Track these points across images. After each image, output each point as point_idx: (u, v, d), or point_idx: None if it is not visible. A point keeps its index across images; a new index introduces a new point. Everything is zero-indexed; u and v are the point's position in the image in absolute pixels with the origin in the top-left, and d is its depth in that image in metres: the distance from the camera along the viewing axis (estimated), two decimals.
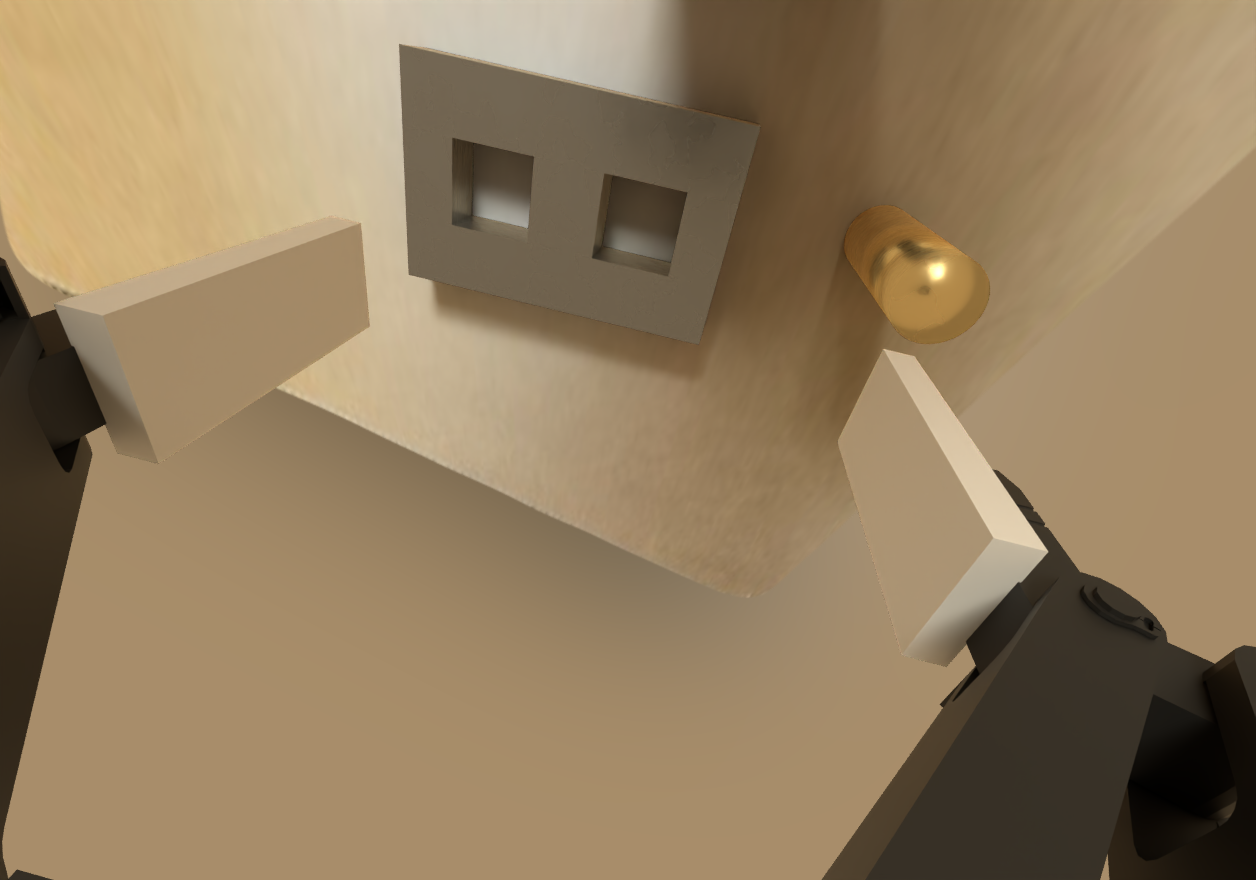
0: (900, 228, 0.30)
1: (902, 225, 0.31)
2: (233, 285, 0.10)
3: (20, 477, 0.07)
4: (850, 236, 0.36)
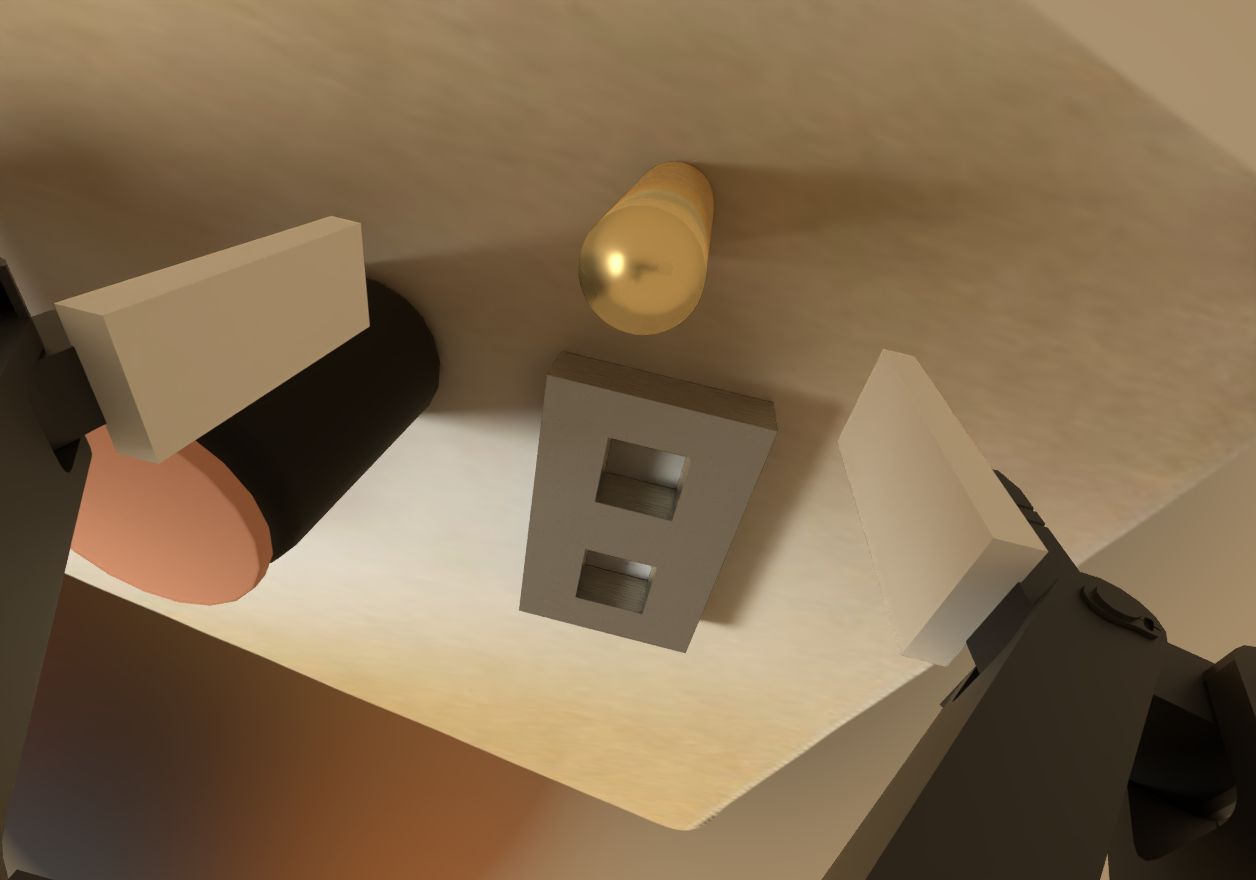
0: None
1: None
2: (233, 285, 0.10)
3: (20, 477, 0.07)
4: None
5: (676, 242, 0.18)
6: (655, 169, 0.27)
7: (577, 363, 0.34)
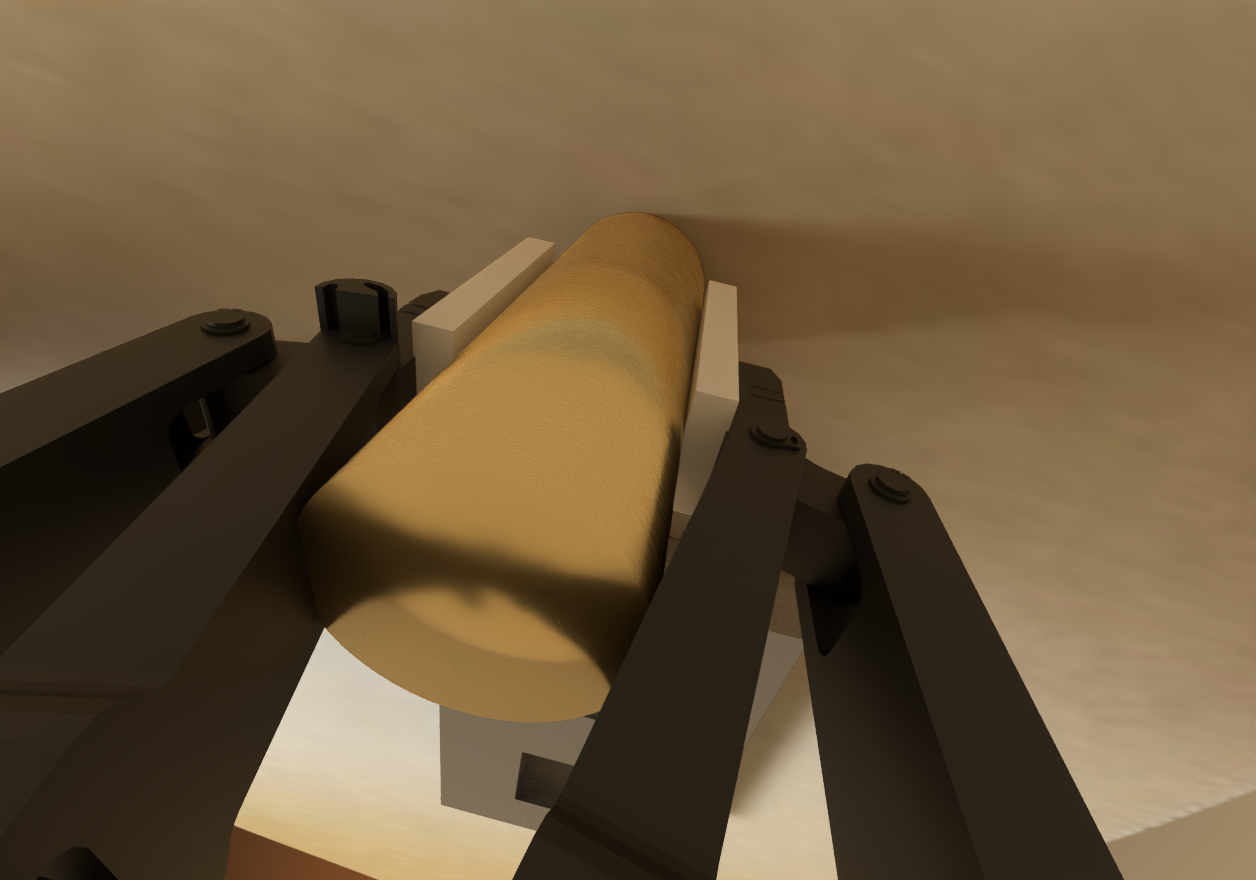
0: None
1: None
2: (500, 302, 0.12)
3: None
4: None
5: (558, 559, 0.06)
6: (592, 233, 0.14)
7: None
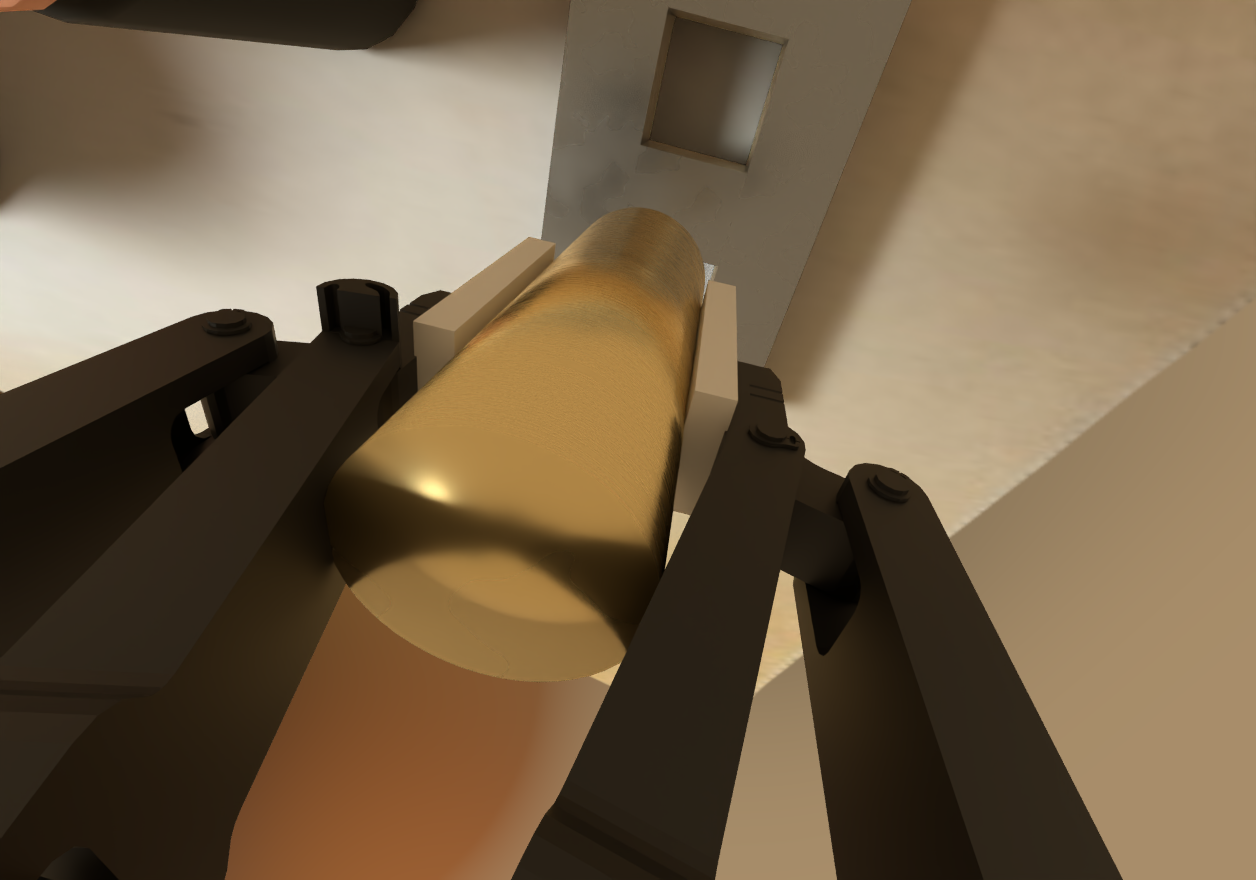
0: None
1: None
2: (501, 302, 0.12)
3: None
4: None
5: (572, 519, 0.06)
6: (597, 227, 0.15)
7: None
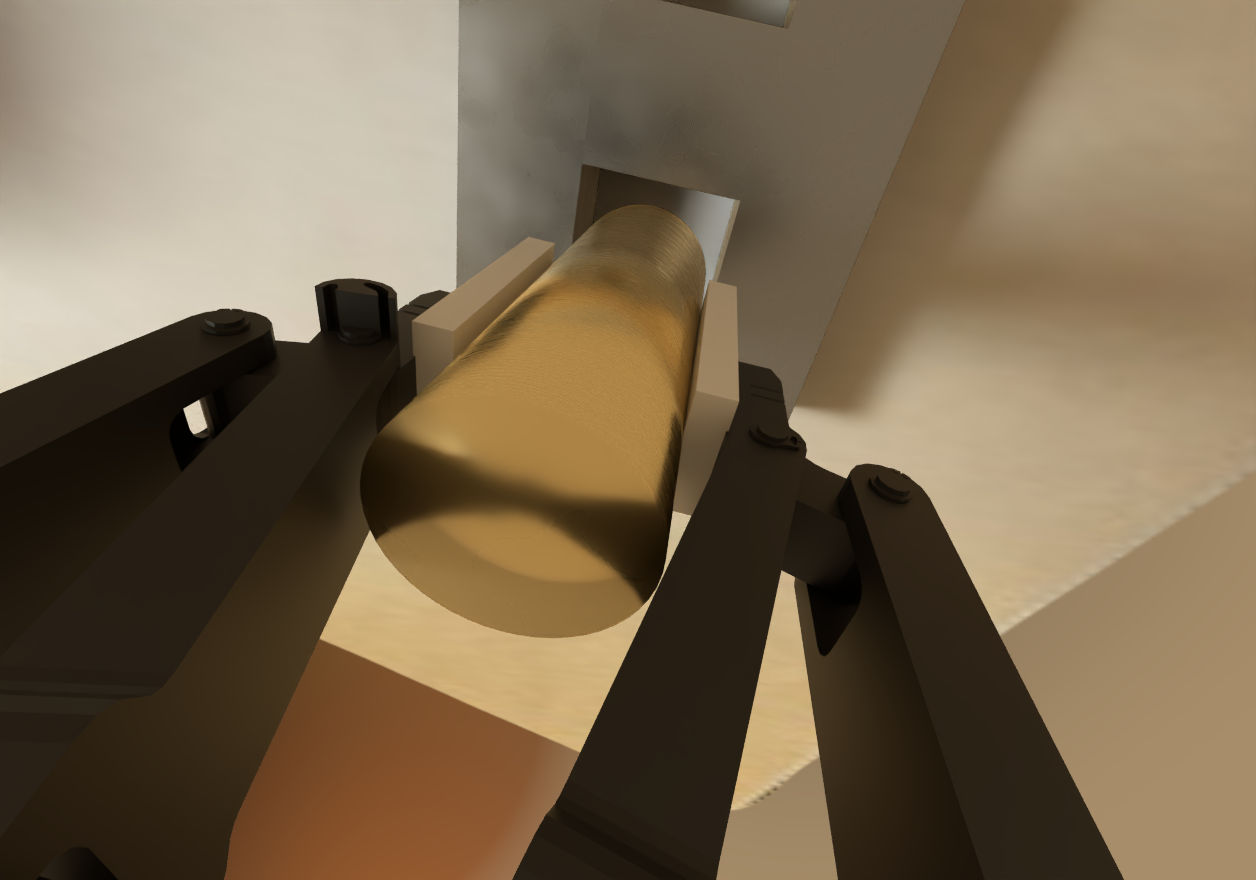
0: None
1: None
2: (500, 302, 0.12)
3: (350, 479, 0.08)
4: None
5: (587, 480, 0.07)
6: (602, 223, 0.15)
7: None
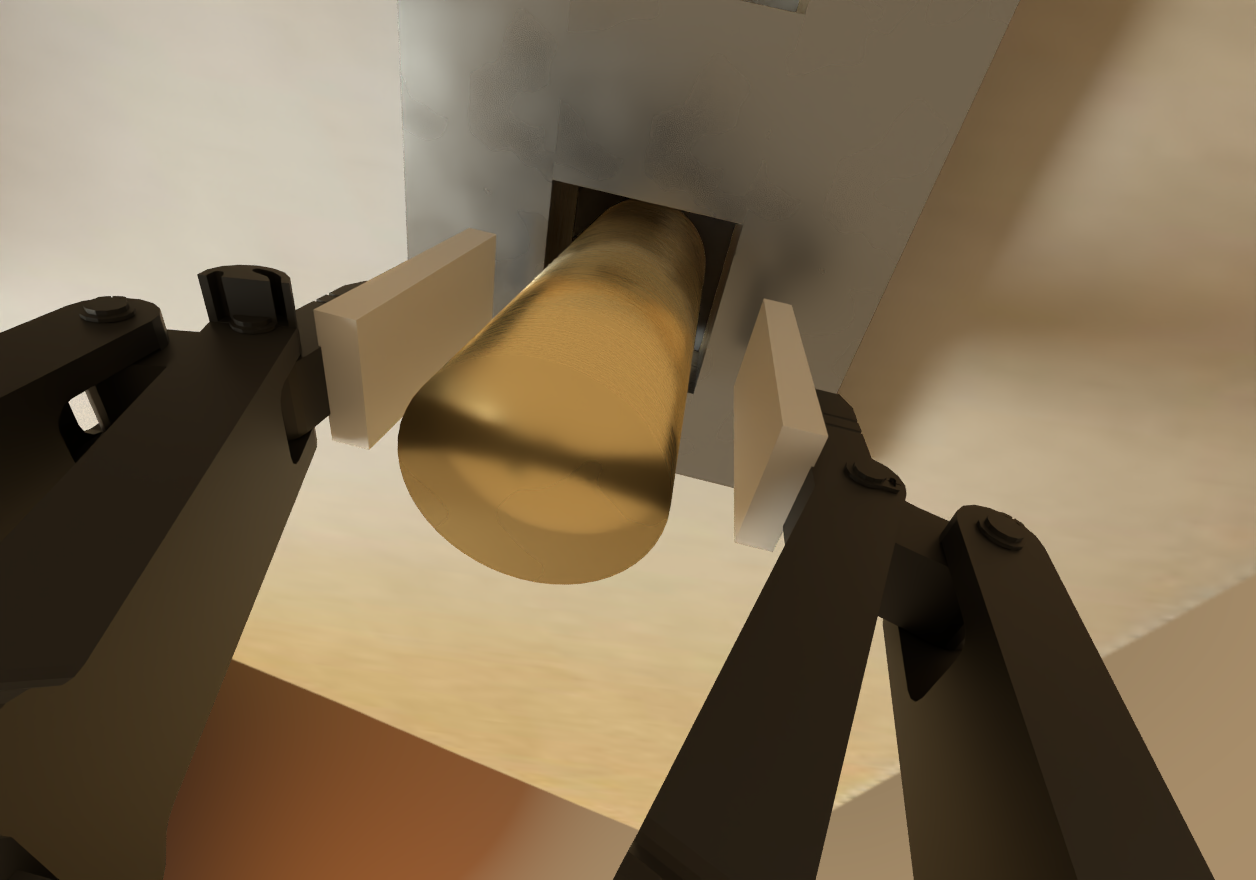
0: None
1: None
2: (423, 292, 0.11)
3: (258, 469, 0.07)
4: None
5: (602, 432, 0.08)
6: (608, 214, 0.16)
7: None
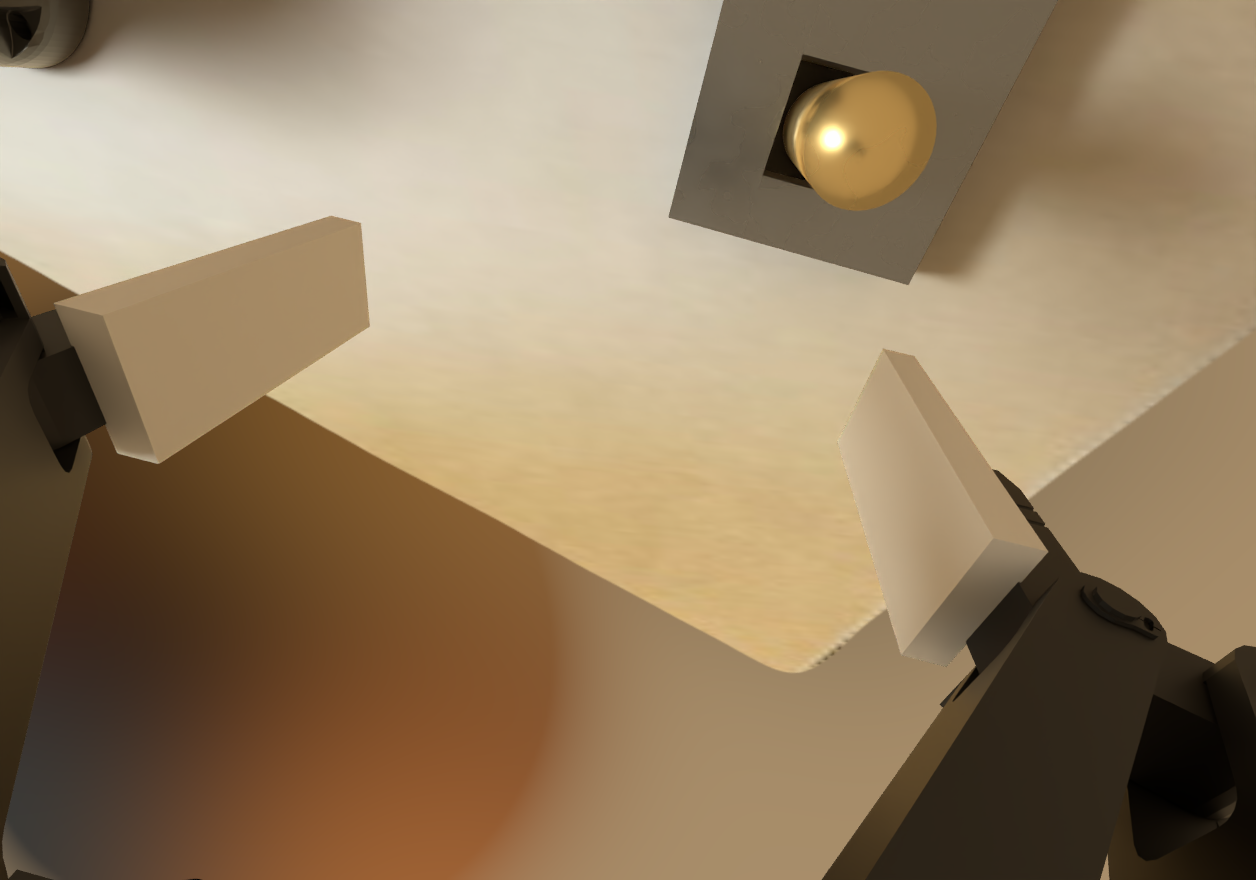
0: (792, 151, 0.25)
1: (790, 145, 0.26)
2: (233, 285, 0.10)
3: (20, 477, 0.07)
4: None
5: (912, 110, 0.19)
6: None
7: None
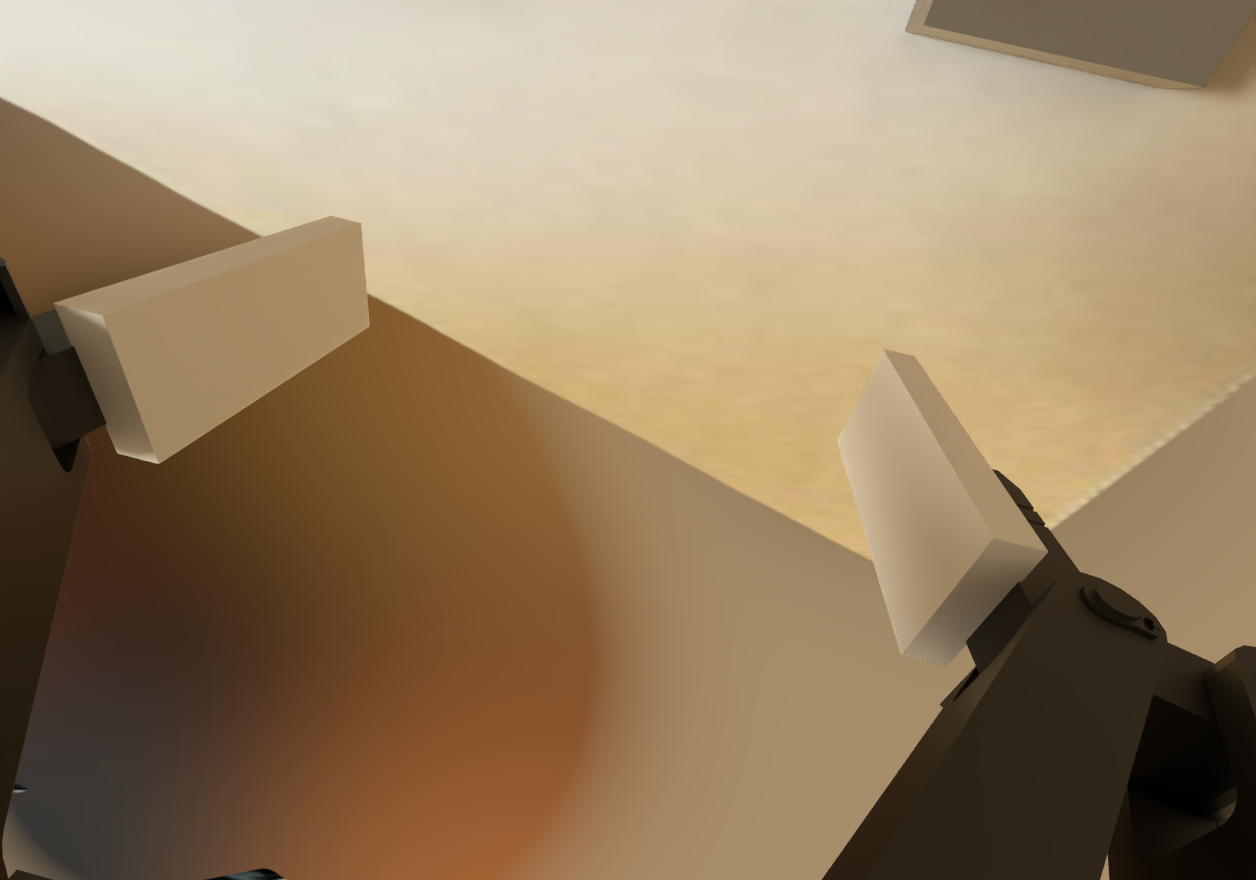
0: None
1: None
2: (233, 285, 0.10)
3: (20, 477, 0.07)
4: None
5: None
6: None
7: None
